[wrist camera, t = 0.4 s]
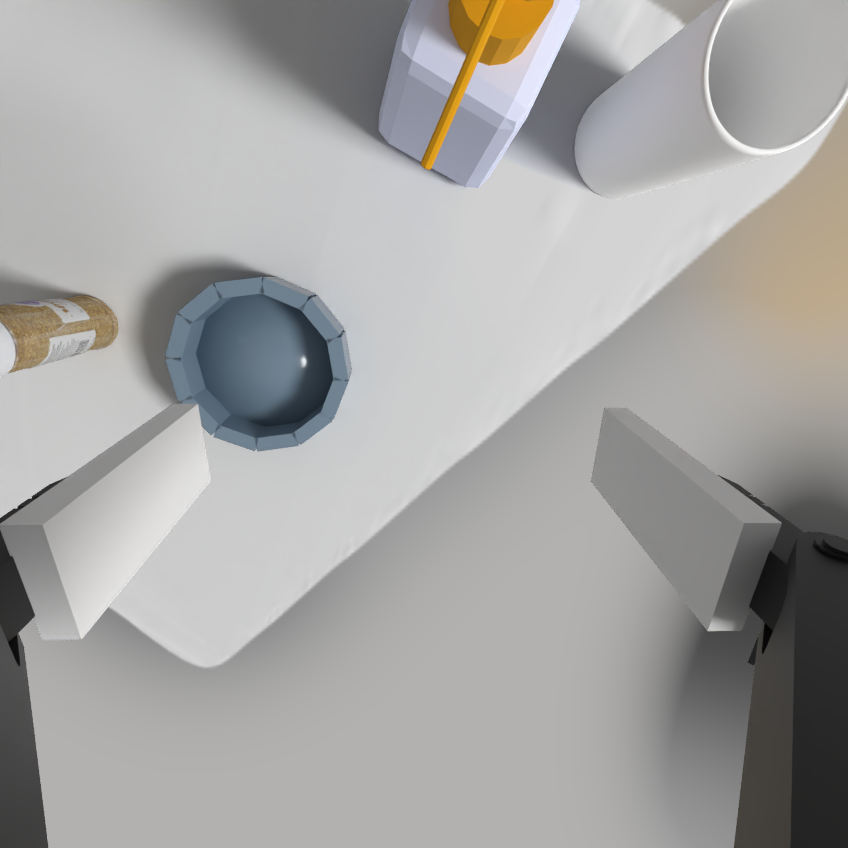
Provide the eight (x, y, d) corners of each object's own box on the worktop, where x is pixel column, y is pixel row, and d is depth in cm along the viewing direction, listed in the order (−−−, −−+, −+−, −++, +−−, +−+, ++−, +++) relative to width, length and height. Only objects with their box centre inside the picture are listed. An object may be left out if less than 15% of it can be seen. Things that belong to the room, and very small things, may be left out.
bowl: (168, 288, 38) (144, 290, 34) (334, 268, 39) (329, 268, 35) (212, 442, 43) (195, 459, 39) (360, 423, 43) (358, 437, 39)
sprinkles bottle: (102, 287, 38) (-42, 297, 25) (130, 340, 39) (8, 374, 26) (50, 305, 38) (-119, 323, 25) (80, 356, 39) (-65, 398, 26)
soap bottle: (350, 191, 37) (306, 90, 16) (424, 4, 33) (494, -447, 12) (454, 247, 39) (536, 222, 18) (534, 76, 35) (755, -205, 14)
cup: (577, 207, 39) (701, 167, 24) (570, 94, 36) (706, -33, 21) (670, 189, 39) (853, 139, 24) (671, 76, 36) (878, -63, 21)
